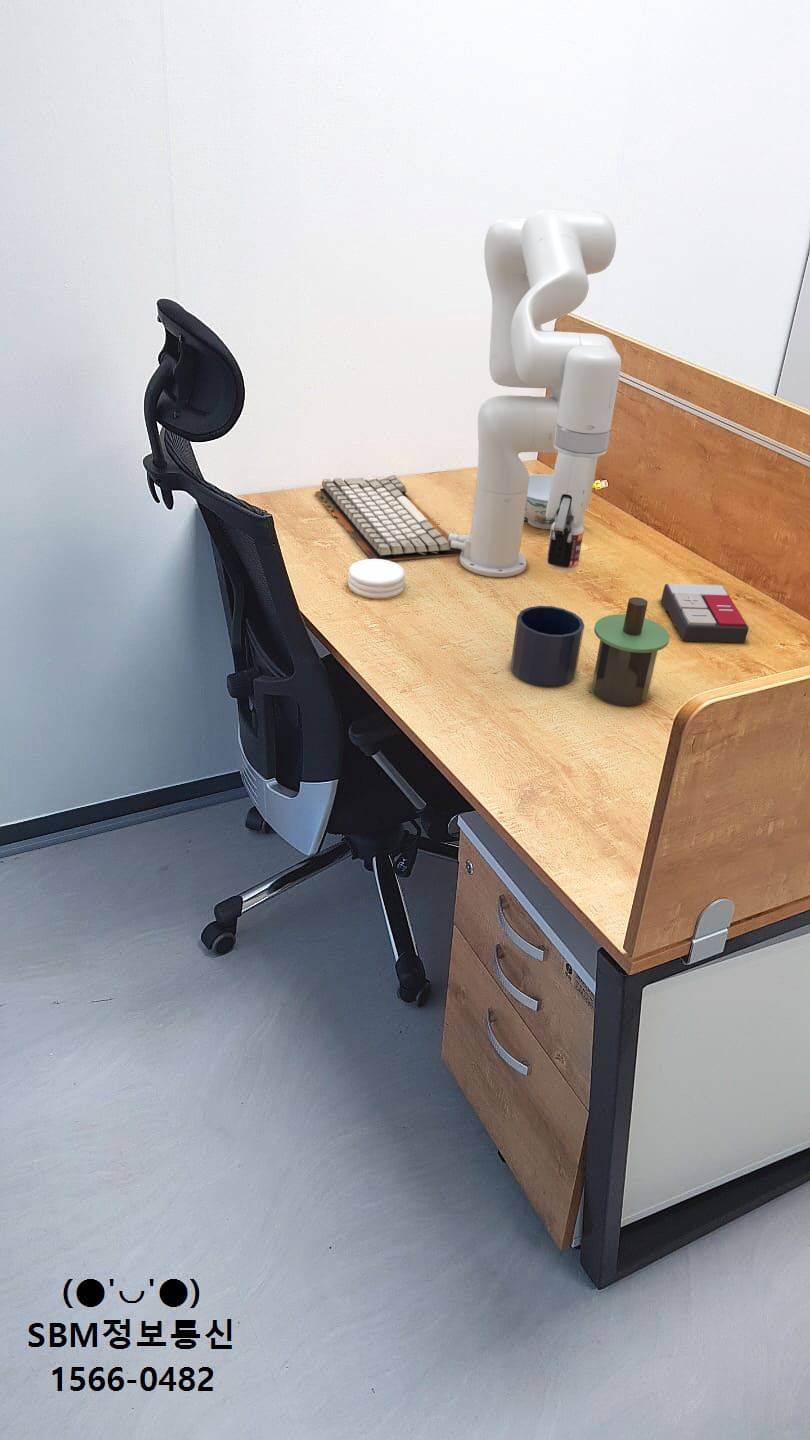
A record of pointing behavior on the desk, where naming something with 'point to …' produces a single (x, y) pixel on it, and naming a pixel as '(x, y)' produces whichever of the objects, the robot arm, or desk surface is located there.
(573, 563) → the pill bottle
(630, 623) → the lid
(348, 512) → the mechanical keyboard
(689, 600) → the calculator
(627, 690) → the cup
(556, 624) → the tin
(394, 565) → the white round stack
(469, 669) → the desk surface
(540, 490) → the chinaware
